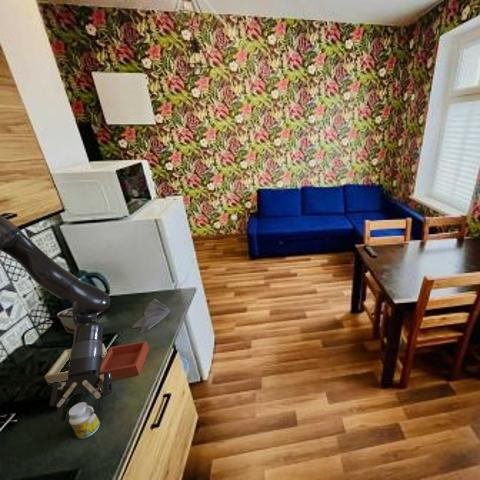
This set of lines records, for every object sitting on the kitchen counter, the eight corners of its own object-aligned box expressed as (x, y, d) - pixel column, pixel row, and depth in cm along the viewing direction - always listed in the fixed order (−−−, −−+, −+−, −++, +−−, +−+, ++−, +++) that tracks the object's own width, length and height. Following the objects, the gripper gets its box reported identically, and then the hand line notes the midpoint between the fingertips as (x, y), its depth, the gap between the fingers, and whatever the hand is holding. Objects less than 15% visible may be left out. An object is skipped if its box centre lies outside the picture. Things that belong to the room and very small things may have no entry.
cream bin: (49, 386, 93) (44, 376, 91) (69, 359, 104) (65, 349, 102) (92, 378, 96) (87, 368, 94) (107, 352, 107) (103, 343, 106)
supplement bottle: (104, 420, 83) (94, 399, 79) (91, 439, 78) (80, 417, 74) (86, 421, 82) (75, 399, 79) (72, 439, 77) (60, 418, 74)
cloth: (160, 330, 119) (159, 326, 118) (126, 334, 117) (125, 330, 116) (177, 297, 143) (176, 293, 142) (149, 300, 140) (148, 296, 139)
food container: (100, 326, 122) (93, 308, 118) (87, 335, 116) (80, 317, 112) (78, 322, 124) (70, 304, 120) (64, 331, 118) (56, 313, 114)
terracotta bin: (99, 383, 95) (94, 373, 93) (113, 356, 106) (110, 347, 104) (139, 375, 98) (136, 365, 96) (149, 349, 109) (146, 340, 107)
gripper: (49, 362, 77) (39, 427, 71) (106, 352, 81) (101, 413, 75) (66, 361, 84) (58, 421, 78) (118, 352, 87) (114, 408, 82)
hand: (79, 417), depth 77 cm, fingers open, 8 cm apart
